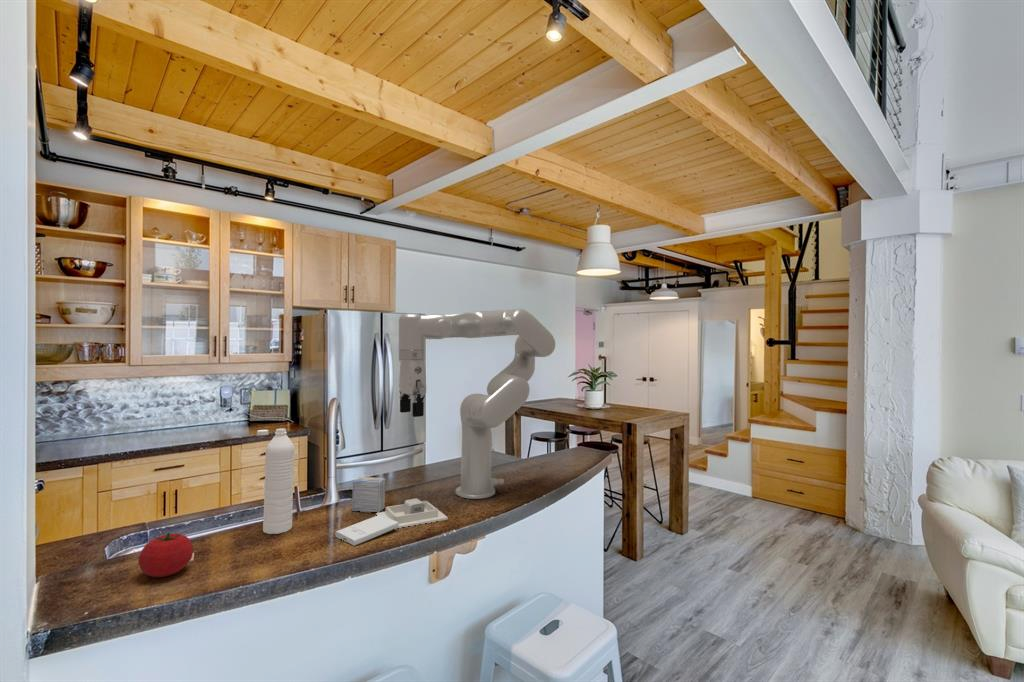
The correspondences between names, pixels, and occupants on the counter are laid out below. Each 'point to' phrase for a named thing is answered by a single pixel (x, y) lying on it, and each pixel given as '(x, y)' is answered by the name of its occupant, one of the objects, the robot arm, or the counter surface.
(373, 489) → the medicine box
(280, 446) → the water bottle
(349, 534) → the external hard drive
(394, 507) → the outlet plate
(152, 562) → the tomato
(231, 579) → the counter surface
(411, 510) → the usb wall charger
